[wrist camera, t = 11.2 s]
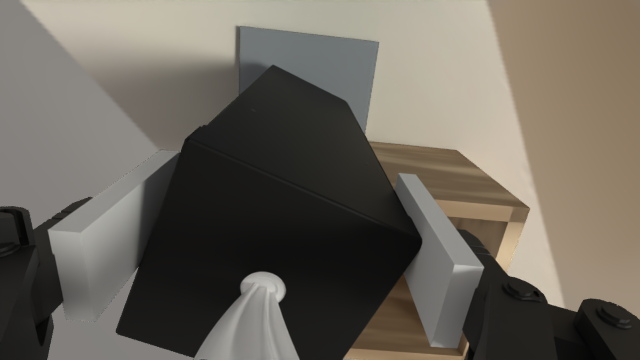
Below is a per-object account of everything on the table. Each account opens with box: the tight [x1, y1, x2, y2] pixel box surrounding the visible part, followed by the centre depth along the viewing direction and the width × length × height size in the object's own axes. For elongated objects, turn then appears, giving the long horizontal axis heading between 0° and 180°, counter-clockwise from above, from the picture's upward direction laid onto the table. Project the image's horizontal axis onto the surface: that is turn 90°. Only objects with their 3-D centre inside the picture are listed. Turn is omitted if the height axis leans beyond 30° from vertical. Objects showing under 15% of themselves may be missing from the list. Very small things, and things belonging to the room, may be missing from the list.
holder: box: [343, 141, 530, 360], centre depth 34 cm, size 15×14×14 cm
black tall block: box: [116, 65, 422, 360], centre depth 22 cm, size 8×8×28 cm
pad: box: [239, 26, 379, 134], centre depth 36 cm, size 13×13×1 cm
